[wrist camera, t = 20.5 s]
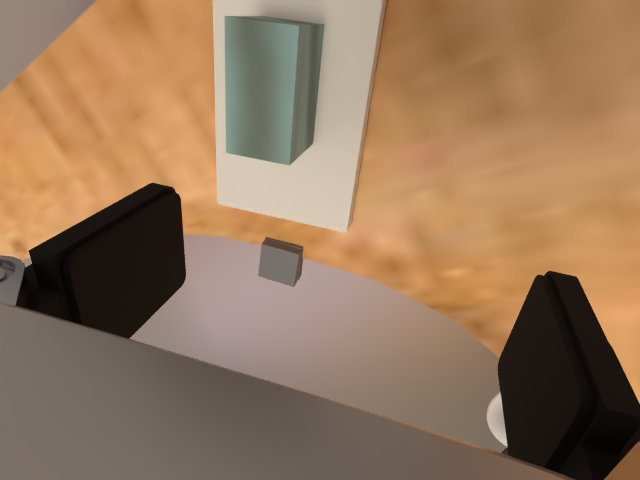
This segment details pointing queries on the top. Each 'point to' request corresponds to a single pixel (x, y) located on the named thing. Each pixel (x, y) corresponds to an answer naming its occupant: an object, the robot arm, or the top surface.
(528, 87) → the top surface
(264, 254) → the chip
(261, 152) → the block
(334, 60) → the board
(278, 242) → the chip
